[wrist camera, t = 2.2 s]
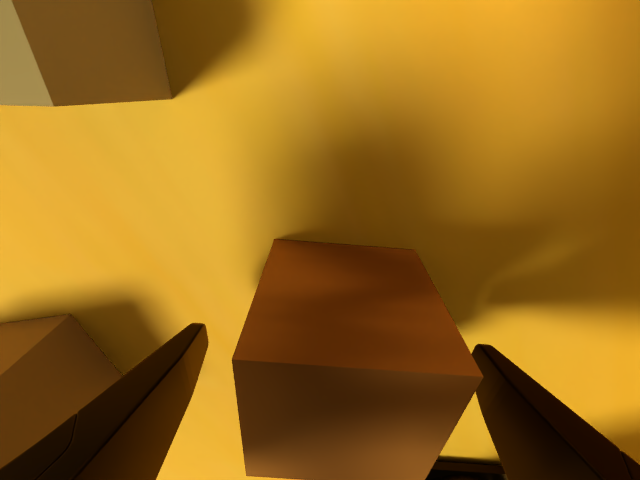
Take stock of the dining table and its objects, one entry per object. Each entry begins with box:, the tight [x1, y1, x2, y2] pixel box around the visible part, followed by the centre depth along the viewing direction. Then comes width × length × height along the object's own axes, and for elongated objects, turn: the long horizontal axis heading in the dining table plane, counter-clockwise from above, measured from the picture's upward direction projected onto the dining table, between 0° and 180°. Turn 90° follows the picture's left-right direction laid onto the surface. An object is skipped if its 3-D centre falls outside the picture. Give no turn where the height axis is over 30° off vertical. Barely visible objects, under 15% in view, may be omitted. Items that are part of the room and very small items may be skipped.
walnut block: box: [232, 239, 483, 480], centre depth 9 cm, size 5×5×5 cm
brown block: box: [0, 314, 122, 468], centre depth 11 cm, size 5×5×5 cm
